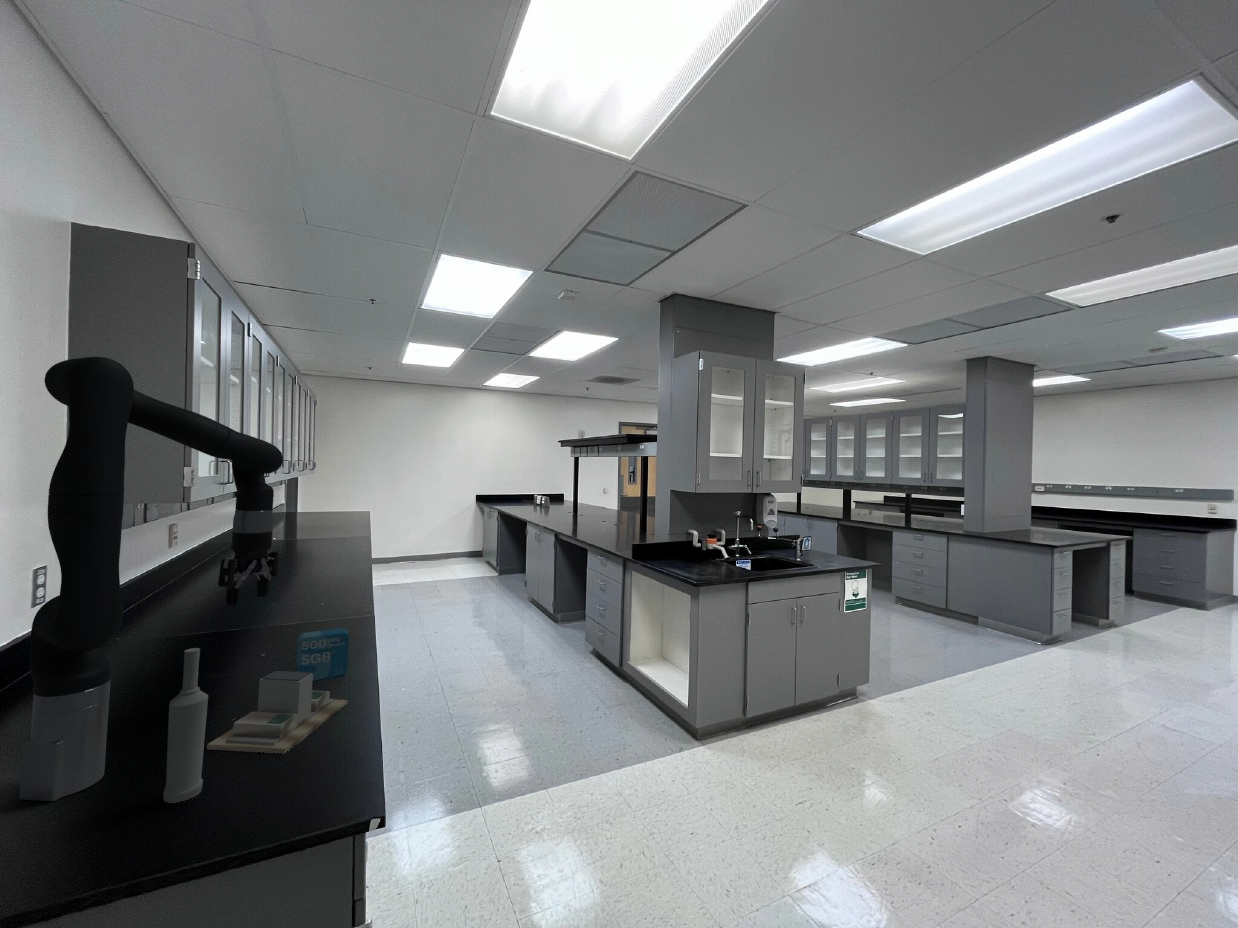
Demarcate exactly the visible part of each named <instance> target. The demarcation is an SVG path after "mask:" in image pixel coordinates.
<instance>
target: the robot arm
mask: <svg viewBox="0 0 1238 928" xmlns="http://www.w3.org/2000/svg"><path fill="white" fill-rule="evenodd" d="M134 385H135V384H134V380H133V377H132V376H131V373H130V372H129V370H128V369H127V368H126V367H125V366H124V365H123V364H121V363H120V362H118V361H117V360H114V359H112V358H110V357H103V356H89V357H87V356H85V357H77V358H70V359H65V360H62V361H59V362H56V363H55V364H53V365H52V366H51V367H50V368H49V369H48V370H47V371H46V372H45V375H44V386H45V388H46V390H47V392H48V393H49V394H50V396H52V398H54V399H55V400H56V401H57V402H59V403H60V404H62V405H64V406H66V407H67V406H68V434H67V435H68V436H67V439H66V442H65V445H64V447H63V450H62V451H61V454H60V456H59V459H58V460H57V463H56V465H55V467H54V470H53V472H52V476H51V477H50V478H51V479H50V482H49V488H48V495H47V496H48V497H47V498H48V499H47V524H48V532H49V535H50V539H51V541H52V542H51V543H52V545H53V547H54V550H55V554H56V557H57V560H58V563H59V567H60V576H61V577H60V588H59V589H60V590H59V595H56V596H55V597H52V598H51V599H50V600H48V601H46V602H45V603H44V604H42V605H41V607H40V608H39V609H38V610H37V612H36V614H35V615H34V618H33V620H32V624H31V628H30V629H31V631H30V651H29V653H30V654H29V655H30V656H29V659H30V661H29V671H30V676H31V679H32V681H33V697H32V698H33V700H32V701H33V702H32V711H31V713H32V714H31V723H30V724H31V725H30V726H31V728H30V739H28V740H25V741H24V742H23V743H22V753H21V754H22V755H21V769H20V782H19V796H18V800H23V801H25V800H26V801H40V802H41V801H42V802H55V801H57V800H59V799H60V798H63V797H66V796H67V797H68V796H69V795H73V794H75V793H78V792H80V791H81V792H82V791H83V790H85V789H88V788H89V787H91V786H93V785H95V784H96V783H98V782H99V781H100V780H101V779H102V778H103V777H104V775H105V767H106V754H107V753H106V752H107V751H106V750H107V739H108V738H107V737H108V721H109V705H110V694H111V693H110V692H111V691H110V690H111V675H112V665H111V662H110V660H108V658H107V656H106V653H105V649H104V645H106V644H107V643H109V642H110V641H111V640H112V639H113V638H114V637H115V635H116V634H117V633H118V632H119V629H120V628H121V625H122V622H123V618H124V617H123V615H124V613H123V610H124V609H123V602H122V601H123V600H122V591H121V581H120V556H121V545H122V528H123V527H122V525H123V517H124V502H125V468H126V437H127V436H126V435H127V432H128V431H127V429H128V424H131V425H134V426H136V427H138V428H142V429H145V430H147V431H150V432H152V433H154V434H156V435H160V436H162V437H165V438H167V439H169V440H172V441H174V442H176V443H179V444H181V445H183V446H186V447H188V448H190V449H192V450H196V451H198V452H200V453H203V454H205V455H207V456H209V457H213V458H217V459H222V460H228V461H231V468H232V469H231V470H232V475H233V481H234V485H235V488H236V495H235V496H236V497H235V510H234V515H233V519H232V520H233V521H232V532H231V533H232V534H231V546H230V550H231V551H232V552H233V553H234V557H233V558H222V559H221V560H220V568H219V575H218V582H217V586H218V587H220V588H225V589H226V594H225V595H226V598H225V603H226V605H227V606H232V607H233V606H237V605H239V604H240V592H241V591H240V590H241V589H240V586H241V584H242V583H243V581H245V580H246V579H247V578H248V576H252V575H253V574H254V575H255V576H256V577H257V579H258V581H257V583H256V596H257V597H258V598H259V597H260V598H264V597H267V596H268V594H269V590H270V589H269V588H270V580H271V579H272V578H273V577H276V576H277V575H278V560H279V559H278V557H279V556H278V555H279V554H278V551H274V550H273V551H272V550H271V549H272V546H273V545H272V544H273V531H274V514H273V513H274V512H273V510H274V497H275V495H274V488H273V487H272V486H271V485H269V484H267V482H266V475H267V474H268V475H269V474H272V473H275V472H276V471H278V470H279V469H281V467H282V465H283V464H284V455H283V453H282V452H281V450H280V449H279V447H277V446H276V445H274V444H273V443H270V442H269V441H266V440H263V439H261V438H257V437H255V436H251V435H249V434H245V433H243V432H240V431H236V430H234V429H232V428H231V427H229V426H227V425H225V424H223V423H221V422H219V421H217V420H214V419H212V418H210V417H207V416H205V415H203V414H200V413H197V412H195V411H192V410H189V409H185V408H182V407H179V406H177V405H173V404H171V403H167V402H164V401H162V400H158V399H156V398H154V397H151V396H149V395H146V394H144V393H143V392H140V391H139V390H136V389H135V386H134ZM270 567H271V569H270ZM226 577H227V578H226ZM226 579H227V580H226ZM234 581H235V582H234Z"/></svg>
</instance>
